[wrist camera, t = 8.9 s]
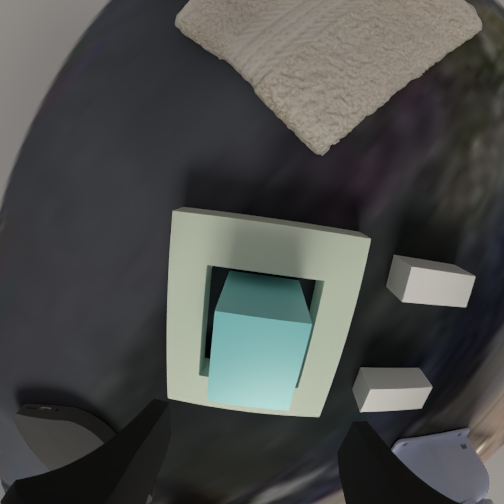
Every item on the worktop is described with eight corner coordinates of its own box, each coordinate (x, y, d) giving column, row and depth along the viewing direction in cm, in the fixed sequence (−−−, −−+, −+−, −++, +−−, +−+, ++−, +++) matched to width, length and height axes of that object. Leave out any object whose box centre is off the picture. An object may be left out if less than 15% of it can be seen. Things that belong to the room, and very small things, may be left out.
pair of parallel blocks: (454, 264, 17) (475, 276, 14) (409, 388, 19) (421, 408, 17) (393, 254, 17) (411, 266, 14) (351, 389, 19) (360, 412, 17)
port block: (359, 231, 16) (370, 238, 14) (315, 398, 19) (319, 417, 17) (183, 206, 16) (172, 210, 15) (175, 380, 19) (167, 397, 17)
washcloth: (474, 33, 13) (496, 20, 10) (316, 166, 16) (327, 164, 13) (362, -69, 11) (371, -90, 8) (178, 34, 14) (163, 12, 11)
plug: (298, 279, 17) (312, 324, 12) (283, 352, 19) (288, 410, 13) (229, 270, 17) (214, 310, 12) (220, 344, 19) (206, 400, 13)
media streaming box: (169, 492, 24) (163, 512, 22) (78, 479, 26) (70, 493, 23) (100, 404, 21) (86, 426, 18) (13, 398, 23) (0, 413, 20)
